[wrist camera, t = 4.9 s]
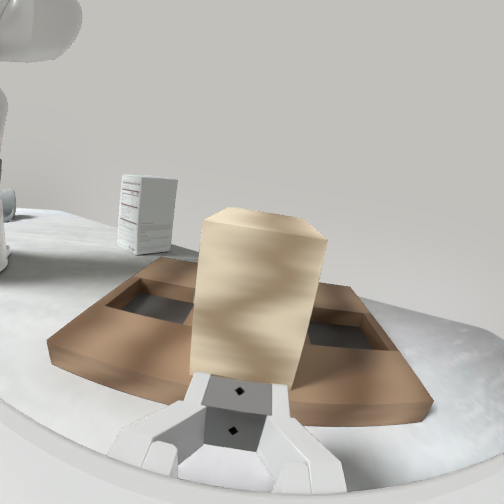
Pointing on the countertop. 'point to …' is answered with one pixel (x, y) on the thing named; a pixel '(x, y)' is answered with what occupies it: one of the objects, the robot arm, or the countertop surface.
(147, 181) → the supplement box
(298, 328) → the birch block
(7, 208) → the ceramic mug
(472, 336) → the countertop surface
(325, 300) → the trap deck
